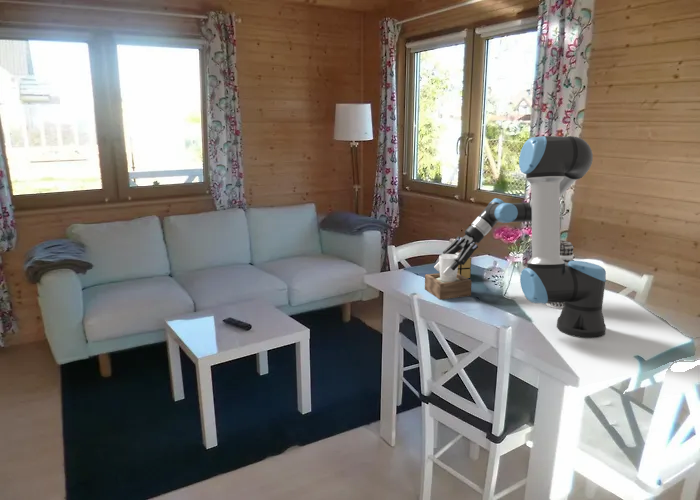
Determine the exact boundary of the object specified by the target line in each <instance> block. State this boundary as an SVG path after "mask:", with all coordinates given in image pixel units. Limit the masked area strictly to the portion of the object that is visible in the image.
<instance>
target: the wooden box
mask: <svg viewBox="0 0 700 500" xmlns="http://www.w3.org/2000/svg"><path fill="white" fill-rule="evenodd" d="M472 284H473V283H472V279H471V278H470V279H468V278H466V277H464V276H462V275H460V274H458V273H457V278H456V281H452V282H445V281H441V280H440V272H439V273H438V272H437V273H427V274H426V273H425V275H424V290H426V291H427V292H428V293H430V294H431V295H433V296H434V297H436V298H437V299H438V300H445V299H446V300H447V299H448V300H449V299H456V298H465V297H471V296H472Z"/></svg>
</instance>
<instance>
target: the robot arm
mask: <svg viewBox="0 0 700 500" xmlns="http://www.w3.org/2000/svg"><path fill="white" fill-rule="evenodd" d="M519 153H520V154H519V158H518V166H519V170H520V173H522V174H525V175H526V176H525V177H526V178H525V179H526V181H527V182H528V183H529V184H530V185H531V186H530V187H531V188H530V189H531V191H530V192H531V194H530V195H531V199H530V201H529V202H505V201H503V199H501V198H498V197H497V198H496V197H495V198H493V199H492V200H491V201H490V202H489V203H488V204H487V206H485V208H484V209H483V210H482V211H481V212H480V213H479V215H478V216H477V217H476V218H475V219H474V220H473V221H472V223H470V224H471V225H469V226H467V228H466V229H465V231H464V234H465V235H463V236H462V237H460V236H459V235H458V236H457V237H456V239H455V240H454V241H453V242H452V243H450V244H449V246H447V247H446V249H444V250H443V251H442V254H455V253H459V255H458V257H457V259H454V260H455V261H456V262H455V261H453V262H452V263H451V264H450V265H449V266H448V267H447V269H446V270H445V271H444V272H443V273H444V274H445V275H446V276H447V277H449V275H450V274H451V273H452V272H453V271H454V270H455V269H456V268H457V267H458V266H459V265H461V264H462V265H464V264H465V263H466V261H467V260H468V259H469V257H471V256H472V254H473V253H474V252H475V250H477V249H478V248H479V245H478V244H480V242H481V241H482V240H483V239H484V238H485V236H486V235H488V234H489V232H490V231H491V230H492V229H493V228H494V227H495V225H497V223H503V224H506V223H507V224H509V223H523V222H524V223H527V222H528V223H529V222H530V223H531V258H530V259H529V260H528V261H527V262H526V265H527V266H526V267H525V268H523V269H522V270H521V272H520V273H521V274H520V275H519V278H520V279H519V281H520V282H519V283H520V287H521V289H522V293H523V295H524V297H525V298H526V299H527V301H529V302H531V303H533V304H544V305H546V303H556V302H565V303H564V307H563V309H562V310H561V312H560V315H559V317H558V318H557V321H556V328H557V329H558V331H559V332H562V333H564V334H566V335H569V336H573V337H577V338H582V339H584V338H585V339H595V338H597V339H598V338H601V337H603V336H605V334H606V329H607V327H606V326H607V325H606V323H605V318H604V314H603V303H604V295H605V288H606V287H605V286H606V282H607V280H606V276H607V275H606V274H607V273H606V269H605V268H604V267H603V266H600V265H599V264H595V263H593V262H592V263H591V262H588V261H584V260H574V261H569V263H568V267H565V262H564V261H563V260H562V259H561V258H560V240H561V229H560V228H561V227H560V225H561V224H560V223H561V217H560V216H561V215H560V214H561V213H560V211H561V210H560V207H561V205H560V201H561V200H560V198H561V197H562V195H564V194H565V193H566V191H567V190H569V188H570V187H571V186H572V185H573V183H575V182H576V181H577V180H580V179H582V178H584V177H585V175H586V174H587V173H588V171H589V170H590V169H591V166H592V164H593V160H594V159H593V158H594V157H593V156H594V155H593V150H592V148H591V146H590V145H589V144H588V142H587V141H586V140H584V139H583V138H581V137H578V136H573V135H570V136H568V135H567V136H563V135H562V136H559V135H558V136H556V135H555V136H554V135H553V136H550V135H549V136H548V135H547V136H546V135H543V136H532V137H530V138H528V139H527V140H526V141H525V142H524V144H523V146H522V147H521V150H520V152H519ZM459 251H460V252H459ZM433 268H434V269H435V270H436V271H437V273H438V272H439V273H440V270H439V261H438V262H437V263H436V264H435V265H434V266H433Z"/></svg>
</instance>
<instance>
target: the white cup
mask: <svg viewBox="0 0 700 500" xmlns="http://www.w3.org/2000/svg"><path fill="white" fill-rule="evenodd" d="M457 257H458V255H454V254H443V253H442V254H439V257H438V259H439V261H438V262H439V270H440V271H439V273H440V280H441V281H445V282H452V281H456V278H457V271H458V267H457V268H456V269H455V270H454V271H453V272H452V273H451V274H450V275H449V277H447V276H446V275H445V274H444V273H443V272H444V271H445V270H446V269H447V267H448V266H449V265H450V264H451V263H452V262H453V261H455V260H454V259H457ZM455 262H456V261H455Z"/></svg>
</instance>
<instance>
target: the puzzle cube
mask: <svg viewBox="0 0 700 500" xmlns="http://www.w3.org/2000/svg"><path fill="white" fill-rule="evenodd" d="M459 253H460V252H457V253H455V254H454V255H459ZM457 273H458V274H460V275H462V276H464V277H466V278H470V279H471V277H472V275H471V274H472V257H471V256H470V257H469V259H468V260H467V261H466V263H465V264H464V265H462V264H461V265H459V266H458V271H457Z"/></svg>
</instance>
